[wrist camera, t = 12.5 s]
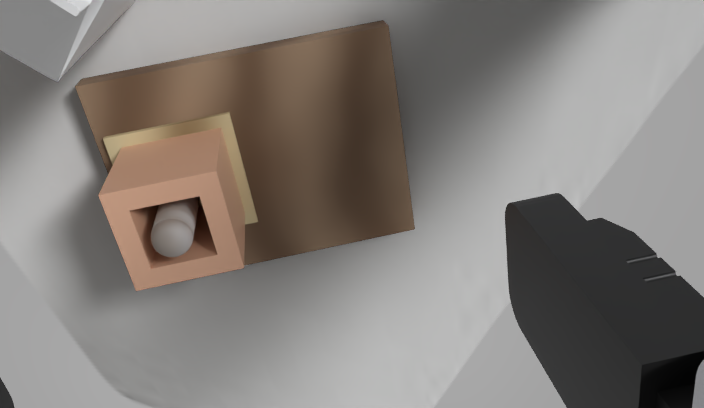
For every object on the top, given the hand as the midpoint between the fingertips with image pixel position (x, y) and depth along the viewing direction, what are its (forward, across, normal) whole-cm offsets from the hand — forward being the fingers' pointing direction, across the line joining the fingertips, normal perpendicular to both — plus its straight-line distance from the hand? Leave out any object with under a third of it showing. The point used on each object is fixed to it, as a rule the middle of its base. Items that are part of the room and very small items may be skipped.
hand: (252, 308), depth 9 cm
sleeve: (+26, +6, +9) cm, 28 cm away
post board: (+28, +2, +9) cm, 29 cm away
